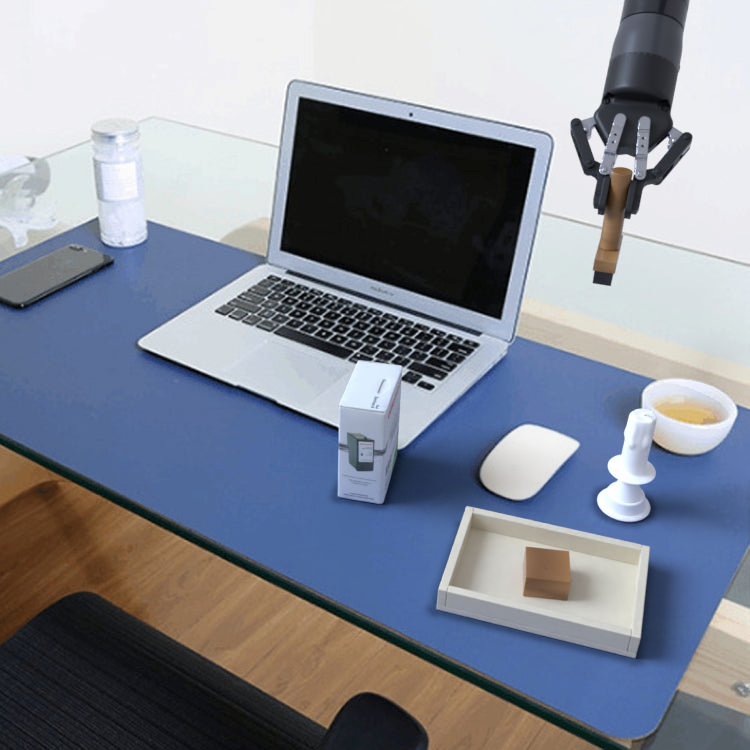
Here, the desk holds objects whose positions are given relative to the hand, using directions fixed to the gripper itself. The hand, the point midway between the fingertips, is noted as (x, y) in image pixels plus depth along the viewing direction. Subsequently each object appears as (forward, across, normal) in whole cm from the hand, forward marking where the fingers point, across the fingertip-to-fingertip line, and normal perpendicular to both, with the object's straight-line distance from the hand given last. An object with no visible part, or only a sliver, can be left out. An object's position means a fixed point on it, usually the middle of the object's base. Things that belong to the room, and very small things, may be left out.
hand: (614, 213), depth 107 cm
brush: (+4, 0, +7) cm, 8 cm away
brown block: (+40, +1, -9) cm, 41 cm away
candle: (+30, +6, +2) cm, 31 cm away
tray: (+40, +1, -8) cm, 41 cm away
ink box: (+33, -20, -1) cm, 39 cm away
